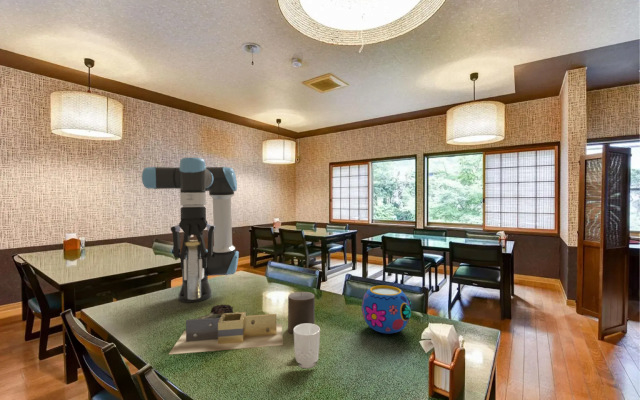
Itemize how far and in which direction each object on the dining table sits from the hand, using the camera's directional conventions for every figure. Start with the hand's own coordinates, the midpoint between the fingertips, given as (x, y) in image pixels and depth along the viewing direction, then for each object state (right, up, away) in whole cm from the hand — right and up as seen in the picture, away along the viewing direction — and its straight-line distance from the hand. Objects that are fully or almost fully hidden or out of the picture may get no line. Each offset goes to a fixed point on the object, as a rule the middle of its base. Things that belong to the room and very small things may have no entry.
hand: (194, 278), depth 94 cm
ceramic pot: (+65, -23, +13) cm, 70 cm away
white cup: (+37, -23, -7) cm, 44 cm away
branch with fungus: (-2, -24, +21) cm, 32 cm away
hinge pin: (0, -6, 0) cm, 6 cm away
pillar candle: (+34, -23, +12) cm, 43 cm away
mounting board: (+10, -23, +6) cm, 26 cm away
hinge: (+11, -22, +6) cm, 25 cm away
